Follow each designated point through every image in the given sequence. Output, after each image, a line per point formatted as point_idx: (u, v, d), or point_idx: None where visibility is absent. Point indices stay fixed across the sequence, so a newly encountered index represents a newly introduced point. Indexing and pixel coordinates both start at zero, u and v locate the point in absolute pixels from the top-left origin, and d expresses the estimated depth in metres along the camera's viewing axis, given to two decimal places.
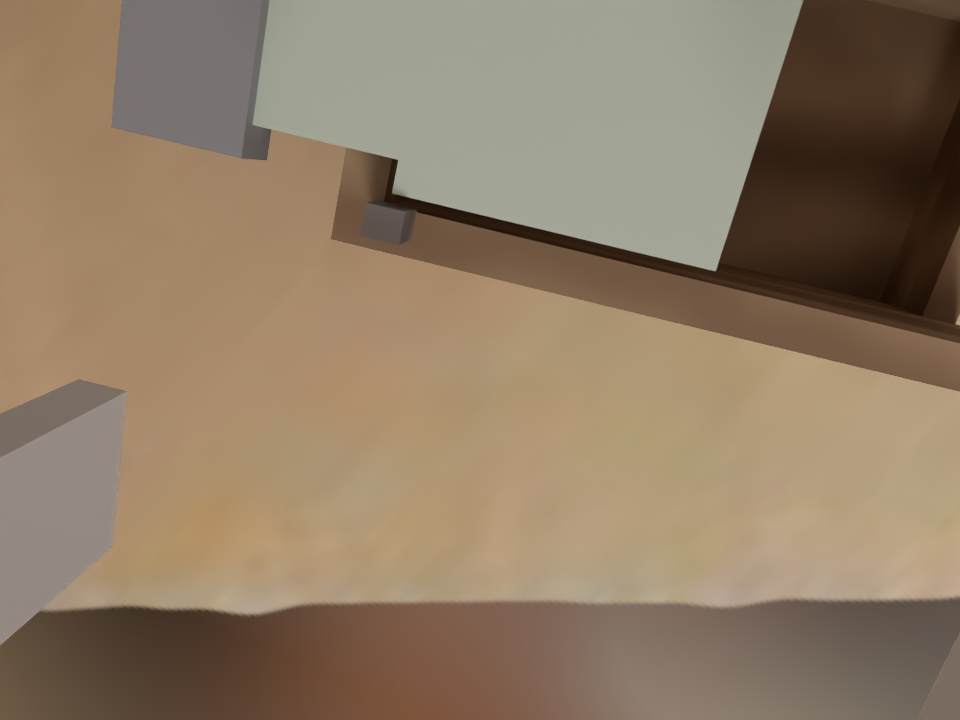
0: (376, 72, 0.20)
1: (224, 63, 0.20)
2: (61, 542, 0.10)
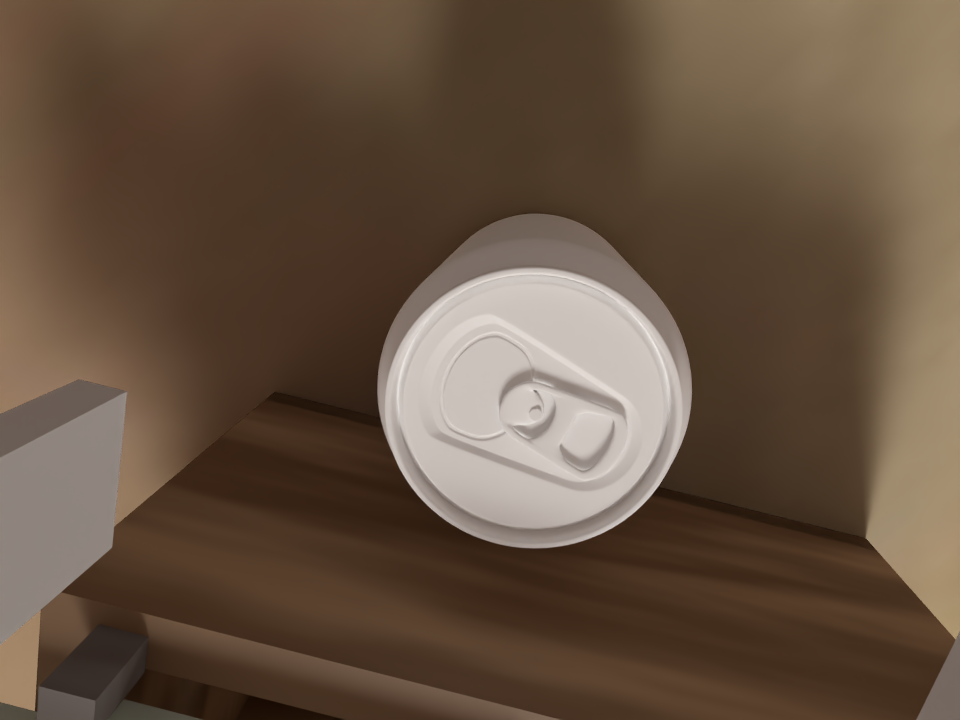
0: None
1: None
2: (61, 542, 0.10)
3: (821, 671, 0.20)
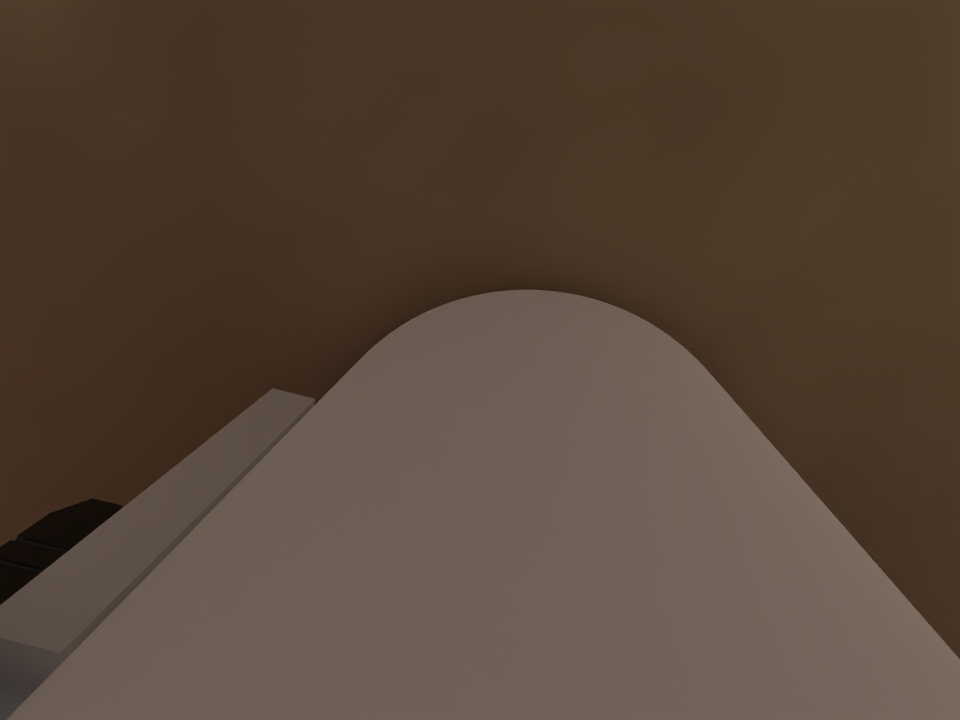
0: None
1: None
2: None
3: None
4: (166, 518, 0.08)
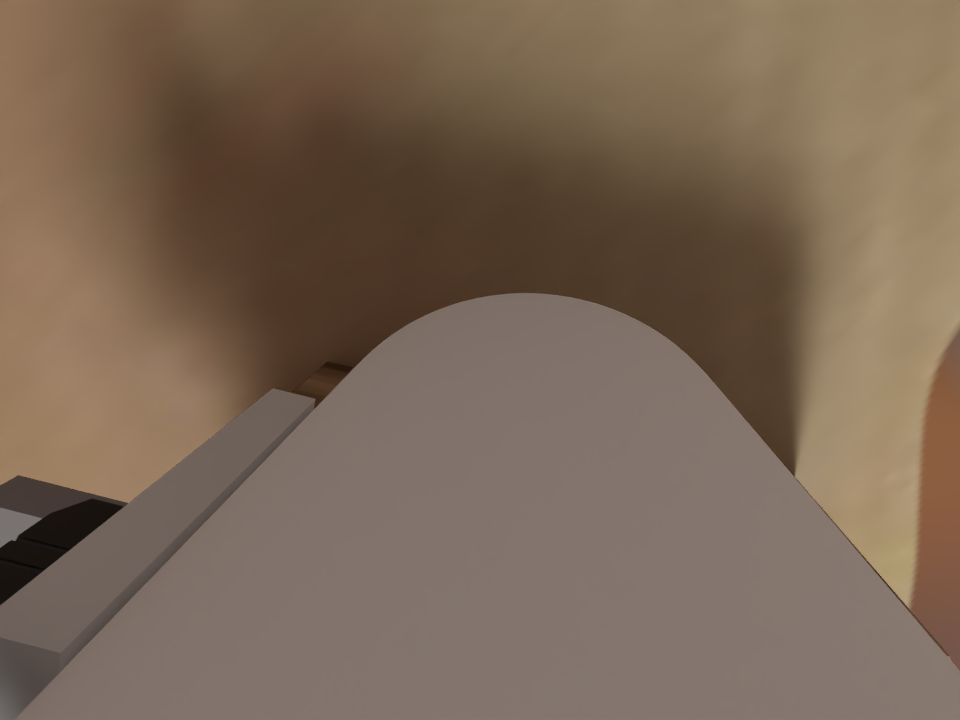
0: None
1: None
2: None
3: None
4: (166, 518, 0.08)
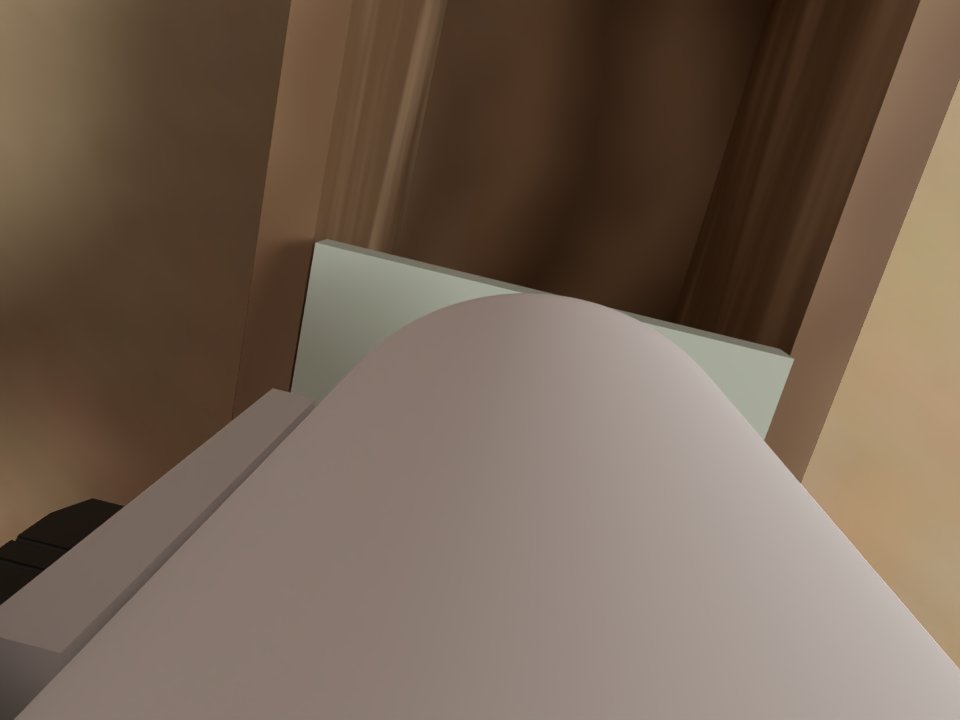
0: None
1: None
2: None
3: None
4: (166, 518, 0.08)
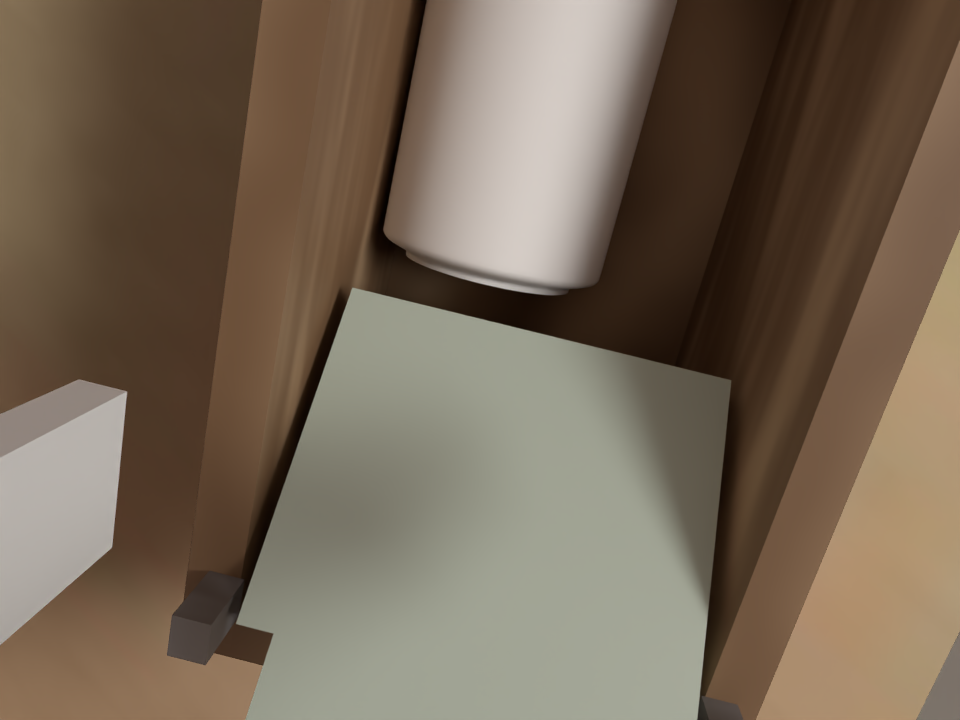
0: None
1: None
2: (61, 542, 0.10)
3: None
4: None
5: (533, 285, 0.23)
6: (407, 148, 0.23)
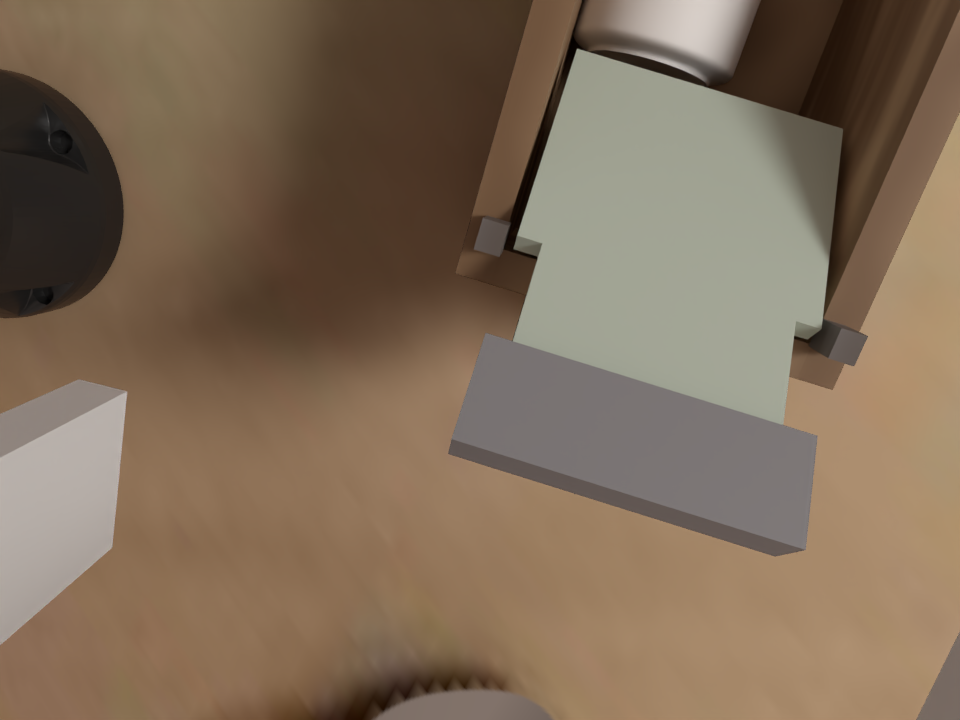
0: (734, 328, 0.26)
1: (744, 436, 0.24)
2: (61, 542, 0.10)
3: None
4: None
5: (690, 61, 0.31)
6: None
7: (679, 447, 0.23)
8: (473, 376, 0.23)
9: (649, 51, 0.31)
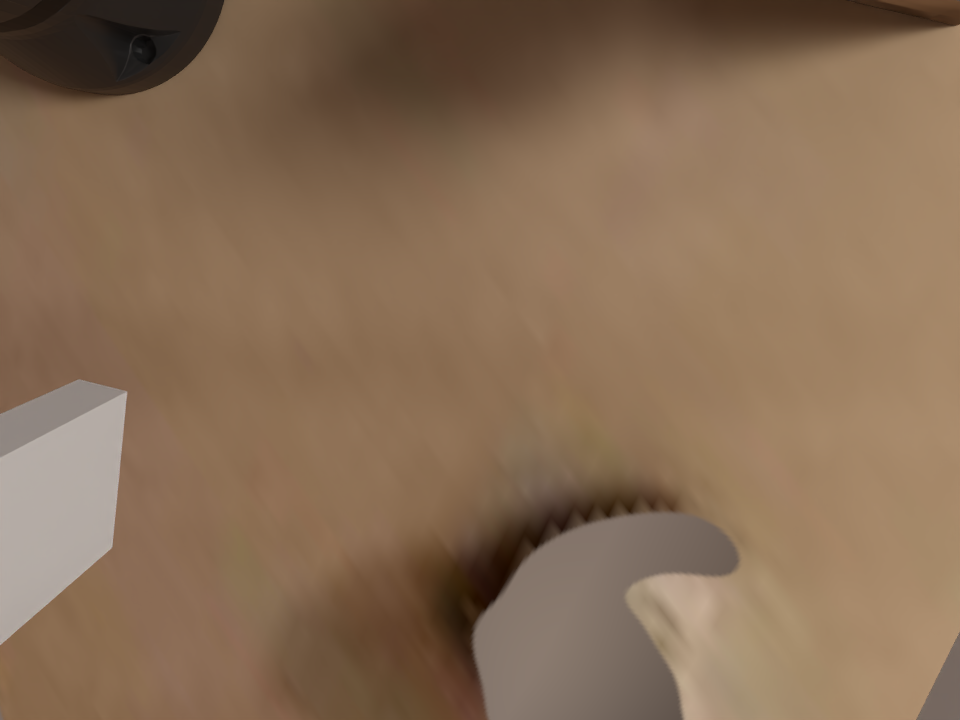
0: None
1: None
2: (61, 542, 0.10)
3: None
4: None
5: None
6: None
7: None
8: None
9: None
